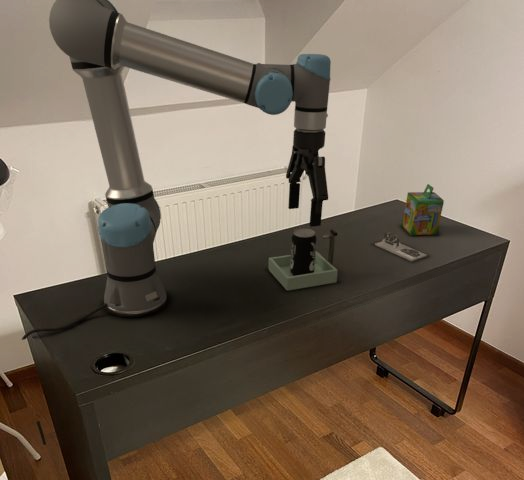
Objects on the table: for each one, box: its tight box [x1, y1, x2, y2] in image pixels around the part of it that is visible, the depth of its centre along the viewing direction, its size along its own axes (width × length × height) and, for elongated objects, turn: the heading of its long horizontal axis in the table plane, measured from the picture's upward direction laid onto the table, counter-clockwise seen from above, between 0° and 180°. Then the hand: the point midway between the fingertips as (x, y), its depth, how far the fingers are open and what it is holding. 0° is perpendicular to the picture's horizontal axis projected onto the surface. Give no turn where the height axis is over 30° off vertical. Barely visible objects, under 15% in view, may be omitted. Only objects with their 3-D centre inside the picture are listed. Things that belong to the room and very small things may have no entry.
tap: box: [322, 229, 338, 266], centre depth 144 cm, size 4×3×12 cm
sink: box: [268, 250, 339, 291], centre depth 144 cm, size 15×14×4 cm
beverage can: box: [290, 228, 317, 276], centre depth 141 cm, size 7×7×12 cm
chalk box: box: [401, 183, 445, 236], centre depth 170 cm, size 9×9×15 cm
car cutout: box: [374, 230, 428, 262], centre depth 159 cm, size 15×7×4 cm, turn 35°
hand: (303, 216), depth 136 cm, fingers open, 13 cm apart
